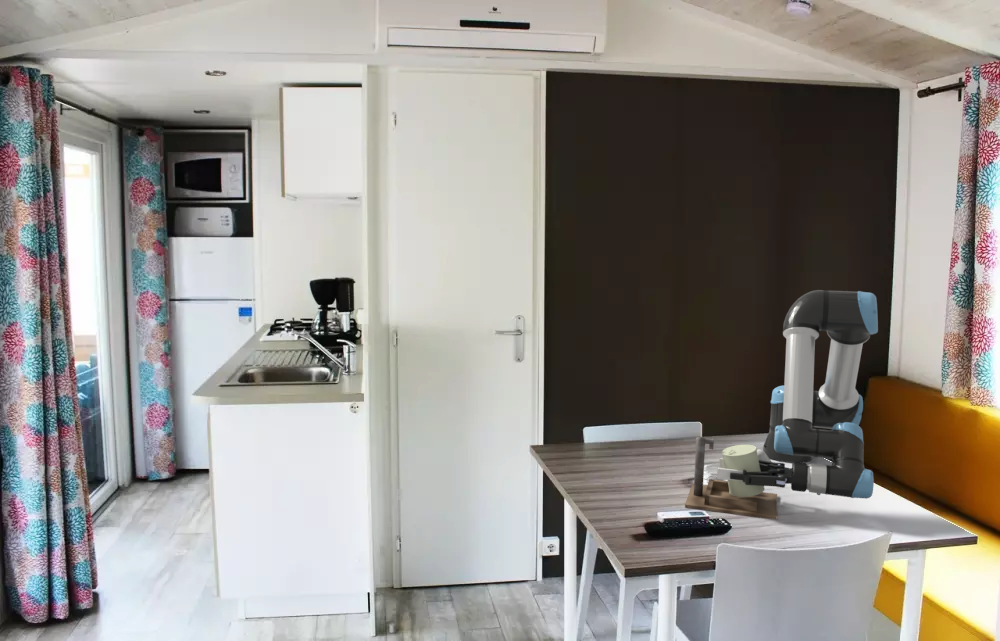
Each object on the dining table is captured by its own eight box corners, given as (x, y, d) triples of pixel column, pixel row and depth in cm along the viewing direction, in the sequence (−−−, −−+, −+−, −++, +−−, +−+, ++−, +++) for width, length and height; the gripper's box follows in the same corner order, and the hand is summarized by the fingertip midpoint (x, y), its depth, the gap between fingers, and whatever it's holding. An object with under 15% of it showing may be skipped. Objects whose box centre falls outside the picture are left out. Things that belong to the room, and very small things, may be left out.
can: (722, 493, 210) (713, 451, 209) (746, 482, 214) (738, 440, 213) (747, 499, 202) (738, 456, 201) (772, 488, 206) (763, 445, 205)
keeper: (776, 496, 214) (780, 437, 212) (776, 519, 198) (780, 455, 195) (692, 486, 222) (694, 429, 220) (684, 507, 205) (687, 445, 203)
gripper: (808, 505, 193) (714, 494, 200) (805, 479, 213) (720, 469, 220) (810, 476, 192) (716, 466, 199) (807, 452, 212) (721, 444, 219)
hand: (718, 467), depth 210 cm, fingers closed on can, 9 cm apart
